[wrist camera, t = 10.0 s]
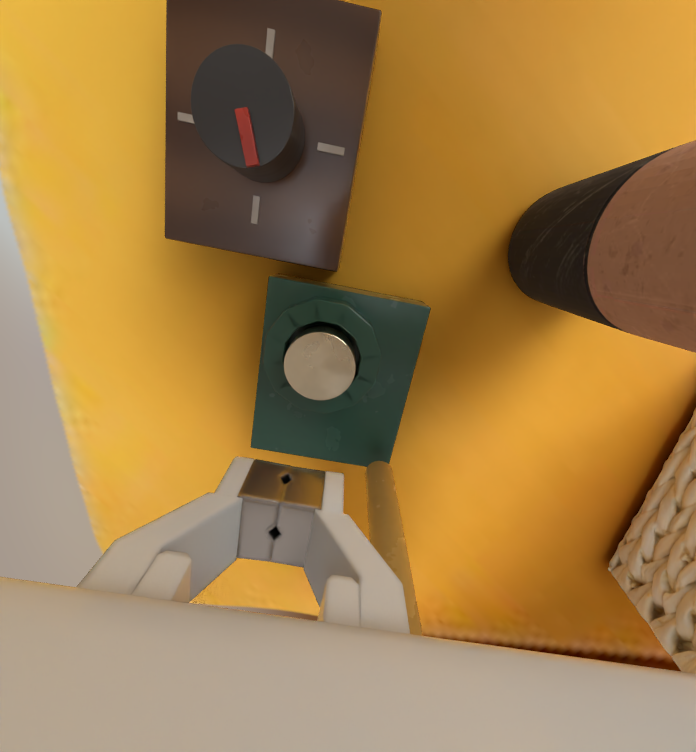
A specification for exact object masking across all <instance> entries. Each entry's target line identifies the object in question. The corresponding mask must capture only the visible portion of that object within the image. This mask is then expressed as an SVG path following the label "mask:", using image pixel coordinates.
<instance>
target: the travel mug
mask: <svg viewBox="0 0 696 752" xmlns="http://www.w3.org/2000/svg"><path fill="white" fill-rule="evenodd" d="M508 263H509V269H510V272H511V275H512V277H513V279H514V281H515V283H516V284H517V286H518V287H519V288H520V289H521V291H522V292H523V293H525V294H526V295H527V296H529V297H531V298H532V299H534V300H537V301H539V302H542V303H544V304H547V305H550V306H552V307H555V308H558V309H561V310H564V311H567V312H570V313H573V314H575V315H578V316H581V317H584V318H587V319H590V320H593V321H596V322H598V323H601V324H604V325H607V326H610V327H613V328H616V329H619V330H621V331H624V332H627V333H631V334H633V335H637V336H640V337H644V338H647V339H651V340H654V341H657V342H661V343H664V344H668V345H671V346H675V347H678V348H682V349H685V350H689V351H692V352H696V141H692V142H689V143H686V144H683V145H680V146H677V147H675V148H672V149H669V150H666V151H663V152H660V153H657V154H655V155H652V156H649V157H646V158H643V159H640V160H638V161H635V162H632V163H629V164H626V165H624V166H621V167H618V168H615V169H612V170H609V171H607V172H604V173H601V174H598V175H595V176H592V177H590V178H587V179H584V180H581V181H578V182H575V183H573V184H570V185H567V186H564V187H562V188H559V189H557V190H554V191H552V192H550V193H548V194H546V195H545V196H543V197H542V198H540V199H539V200H538V201H536V202H535V203H534V204H533V205H532V206H531V207H530V208H529V209H528V210H527V211H526V212H525V213H524V215H523V216H522V217H521V219H520V220H519V222H518V223H517V225H516V227H515V229H514V231H513V234H512V237H511V240H510V244H509V251H508Z"/></svg>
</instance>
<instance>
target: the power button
mask: <svg viewBox="0 0 696 752" xmlns="http://www.w3.org/2000/svg"><path fill="white" fill-rule="evenodd" d="M355 370H356V361H355V351H354V348H353V346H352V344H351V342H350V340H349V339H348V338H347V337H346V336H345V335H344V334H343V333H342V332H340V331H339V330H337V329H335V328H332V327H328V326H314V327H310V328H308V329H306V330H304V331H302V332H301V333H300V334H298V335H297V337H296V338H295V339H294V340H293V342H292V343H291V345H290V347H289V348H288V350H287V352H286V355H285V358H284V372H285V375H286V378H287V380H288V382H289V384H290V385H291V386H292V388H293V389H294V390H295V391H297V392H298V393H299V394H301V395H302V396H304V397H307V398H309V399H313V400H328V399H332V398H335V397H337V396H339V395H341V394H342V393H343V392H345V391H346V390H347V389H348V387H349V386H350V385H351V383H352V381H353V379H354V376H355Z"/></svg>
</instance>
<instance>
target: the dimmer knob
mask: <svg viewBox="0 0 696 752" xmlns="http://www.w3.org/2000/svg"><path fill="white" fill-rule="evenodd" d="M191 111H192V117H193V121H194V124H195V127H196V129H197V132H198V134H199V136H200V138H201V139H202V141H203V142H204V144H205V145H206V147H207V148H208V149H209V150H210V151H211V152H212V153H213V154H214V155H215V156H216V157H217V158H219V159H220V160H222V161H223V162H224V163H226V164H227V165H229V166H230V167H232V168H233V169H235V170H236V171H238V172H239V173H240V174H242V175H243V176H245V177H247V178H249V179H251V180H254V181H257V182H265V183H266V182H274V181H277V180H280V179H282V178H284V177H285V176H287V175H288V174H289V173H290V172H291V171H292V170H293V169H294V168H295V167H296V165H297V164H298V162H299V160H300V158H301V155H302V152H303V148H304V142H305V131H304V124H303V120H302V117H301V114H300V111H299V109H298V106H297V103H296V101H295V98H294V95H293V93H292V90H291V87H290V85H289V82H288V80H287V78H286V76H285V74H284V73H283V71H282V70H281V68H280V67H279V66H278V64H277V63H276V62H275V61H274V60H273V59H272V58H271V57H270V56H268V55H267V54H266V53H265V52H263V51H261V50H259V49H258V48H255V47H253V46H249V45H245V44H229V45H226V46H222V47H220V48H218V49H216V50H215V51H213V52H212V53H210V54H209V55H208V56H207V57H206V58H205V59H204V61H203V62H202V63H201V65H200V66H199V68H198V70H197V72H196V74H195V77H194V80H193V84H192V89H191Z"/></svg>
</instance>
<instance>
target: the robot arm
mask: <svg viewBox="0 0 696 752" xmlns="http://www.w3.org/2000/svg"><path fill="white" fill-rule="evenodd" d="M343 502H344V474H343V473H337V472H330V471H326V472H325V471H320V470H313V469H306V468H300V467H293V466H290V465H284V464H279V463H273V462H268V461H263V460H257V459H255V460H254V459H252V458H246V457H239V456H237V457H235V458H234V459H233V461H232V463H231V464H230V466H229V468H228V470H227V471H226V473H225V475H224V477H223V478H222V480H221V482H220V484H219V485H218V487H217V489H216V491H215V493H207V494H205V495H203V496H201V497H199V498H197V499H195V500H193V501H191V502H189V503H187V504H185V505H183V506H181V507H179V508H177V509H175V510H173V511H171V512H169V513H168V514H166V515H164V516H162V517H160V518H158V519H156V520H154V521H152V522H150V523H148V524H146V525H144V526H142V527H140V528H138V529H136V530H134V531H132V532H130V533H128V534H126V535H124V536H123V537H121V538H119V539H117V540H115V541H114V542H113V543H112V544H111V546H110V547H109V548H108V549H107V550H106V552H105V553H104V554H103V555H102V556H101V558H100V559H99V560H98V561H97V563H96V564H95V565H94V566H93V567H92V569H91V570H90V571H89V572H88V574H87V575H86V576H85V577H84V578H83V580H82V581H81V582H80V583H79V584H78V586H77V587H70V586H63V585H55V584H48V583H41V582H34V581H27V580H20V579H12V578H5V577H0V752H696V674H693V673H686V672H679V671H672V670H664V669H657V668H650V667H643V666H636V665H629V664H622V663H614V662H607V661H600V660H593V659H586V658H579V657H571V656H564V655H557V654H550V653H543V652H536V651H528V650H521V649H514V648H507V647H500V646H493V645H485V644H478V643H471V642H464V641H456V640H449V639H442V638H434V637H427V636H420V635H413V634H410V629H409V623H408V616H407V610H406V603H405V597H404V590H403V584H402V583H401V581H400V580H399V579H398V577H397V576H396V575H395V574H394V572H393V571H392V570H391V568H390V567H389V566H388V565H387V563H386V562H385V561H384V560H383V558H382V557H381V556H380V554H379V553H378V552H377V551H376V549H375V548H374V547H373V545H372V544H371V543H370V542H369V540H368V539H367V538H366V536H365V535H364V534H363V533H362V531H361V530H360V529H359V528H358V526H357V525H356V524H355V522H354V521H353V520H352V519H351V517H350V516H349V515H347V514H343ZM236 558H244V559H253V560H261V561H270V562H275V563H281V564H287V565H292V566H298V567H304V571H305V574H306V576H307V578H308V581H309V583H310V585H311V588H312V590H313V592H314V595H315V597H316V600H317V602H318V604H319V607H320V611H319V615H318V620H317V621H314V620H307V619H300V618H293V617H285V616H278V615H271V614H263V613H256V612H249V611H242V610H234V609H228V608H221V607H213V606H206V605H199V604H192V603H189V602H190V601H191V600H192V599H193V598H194V597H196V596H197V595H198V594H199V593H200V592H201V591H202V590H203V589H204V588H206V587H207V586H208V585H209V584H210V583H211V582H212V581H213V580H214V579H215V578H217V577H218V576H219V575H220V574H221V573H222V572H223V571H224V570H225V569H226V568H228V567H229V566H230V565H231V564H232V563H233V562H234V561H235V560H236Z"/></svg>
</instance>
